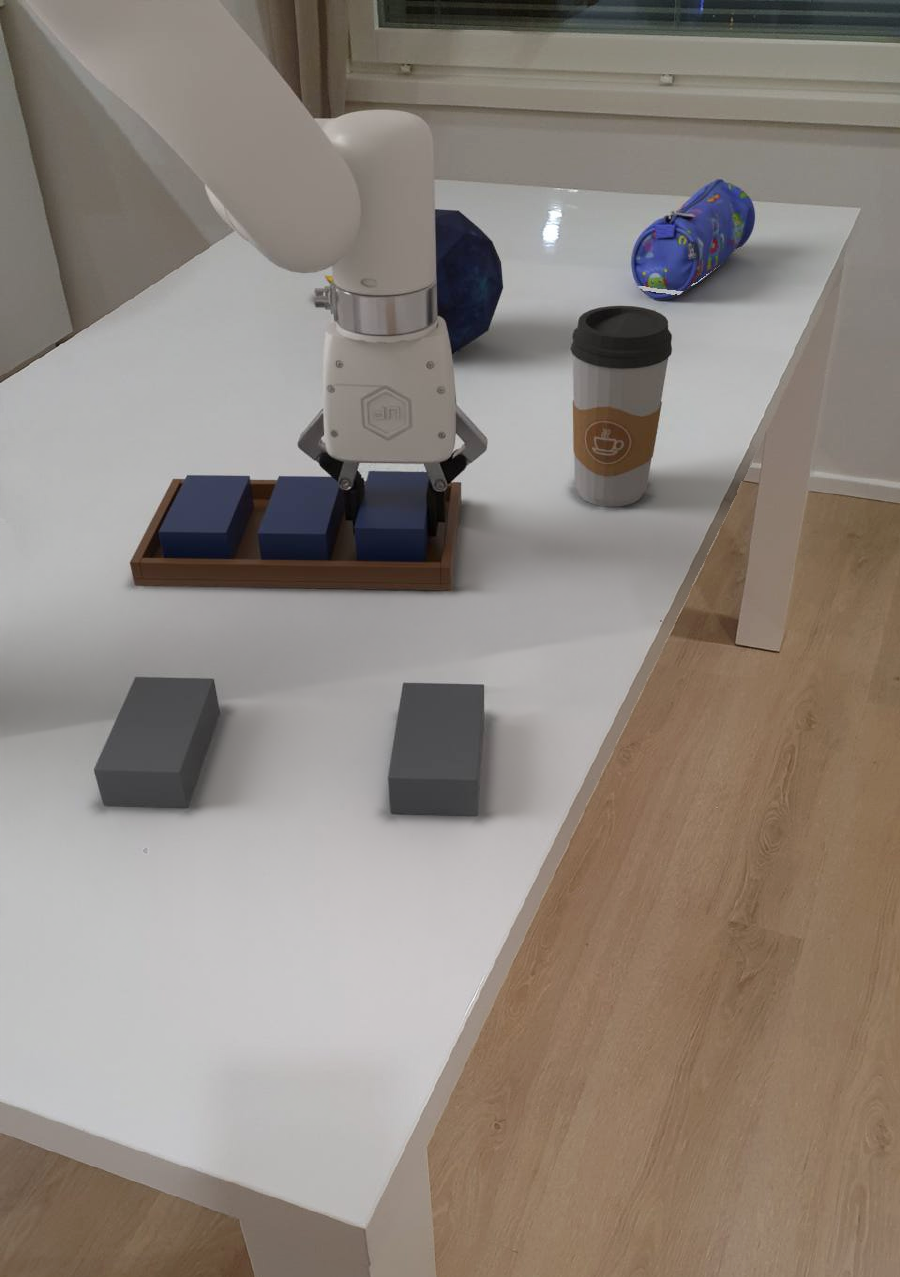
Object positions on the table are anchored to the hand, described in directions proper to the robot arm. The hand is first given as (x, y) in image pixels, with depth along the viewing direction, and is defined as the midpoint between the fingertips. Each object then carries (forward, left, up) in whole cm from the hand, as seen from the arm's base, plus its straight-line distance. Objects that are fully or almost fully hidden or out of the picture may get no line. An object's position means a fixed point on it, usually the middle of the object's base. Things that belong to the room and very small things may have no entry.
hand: (396, 526), depth 100 cm
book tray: (-8, 0, -2) cm, 8 cm away
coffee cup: (+18, +10, -2) cm, 21 cm away
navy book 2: (-8, 0, -1) cm, 8 cm away
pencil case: (+30, +68, -2) cm, 75 cm away
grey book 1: (-13, -29, -2) cm, 32 cm away
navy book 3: (0, 0, 0) cm, 0 cm away
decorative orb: (0, +44, -2) cm, 44 cm away
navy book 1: (-16, 0, -1) cm, 16 cm away
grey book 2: (+6, -29, -2) cm, 29 cm away
